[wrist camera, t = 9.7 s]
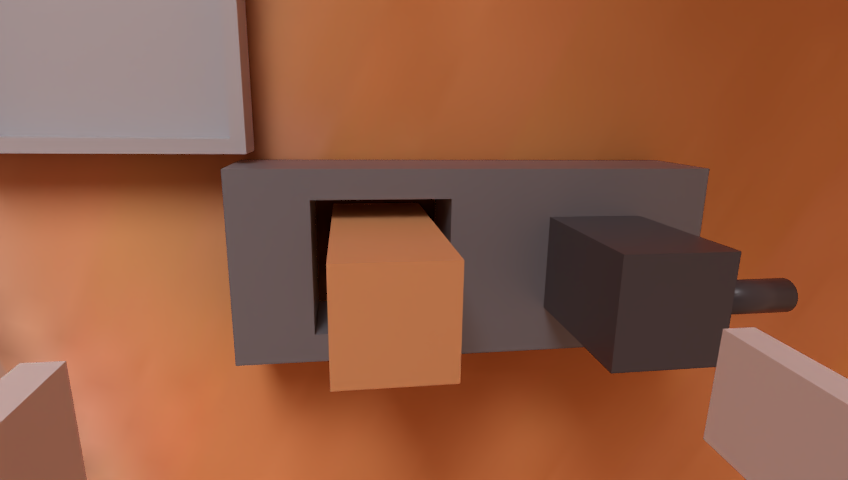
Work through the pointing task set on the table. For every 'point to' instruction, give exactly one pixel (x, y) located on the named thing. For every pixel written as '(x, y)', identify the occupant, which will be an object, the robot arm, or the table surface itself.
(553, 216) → the strip
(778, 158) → the table surface
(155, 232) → the table surface
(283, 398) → the table surface
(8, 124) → the tray
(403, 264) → the plug
